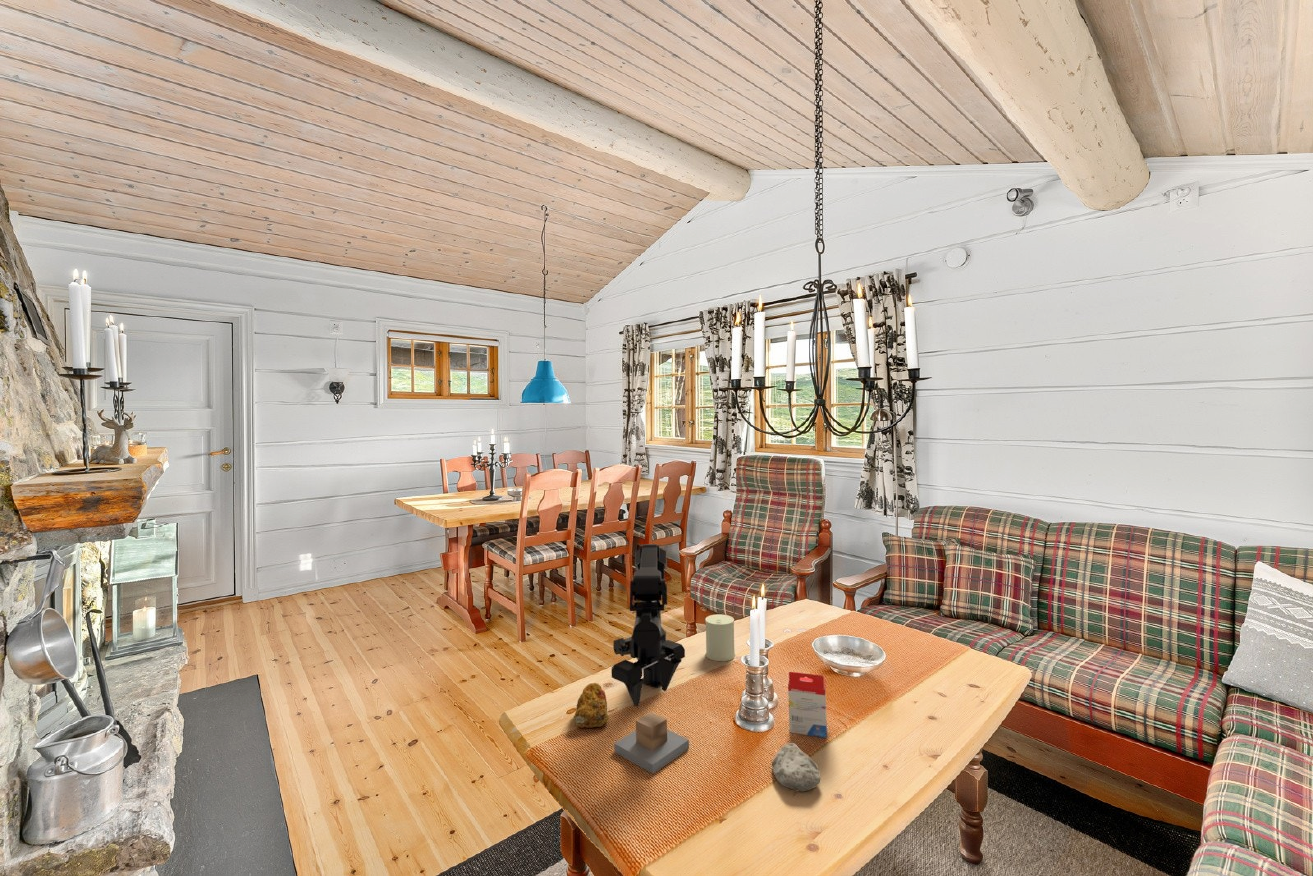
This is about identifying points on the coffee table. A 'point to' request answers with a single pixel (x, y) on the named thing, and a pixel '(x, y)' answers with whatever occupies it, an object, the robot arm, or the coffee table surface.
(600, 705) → the rock
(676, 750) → the plate
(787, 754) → the decorative stone
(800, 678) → the ink box
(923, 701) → the coffee table surface
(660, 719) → the walnut cube
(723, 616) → the pale green cylinder
